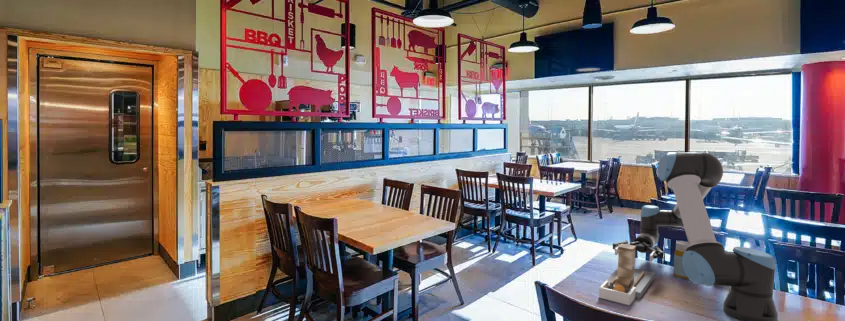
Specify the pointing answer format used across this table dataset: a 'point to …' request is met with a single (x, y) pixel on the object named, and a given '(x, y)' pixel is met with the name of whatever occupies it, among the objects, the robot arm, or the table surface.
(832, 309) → the table surface
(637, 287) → the platform
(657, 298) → the table surface
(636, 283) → the lane rails
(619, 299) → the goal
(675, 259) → the bottle
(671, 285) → the table surface
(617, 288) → the ball
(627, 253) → the tan tall block
